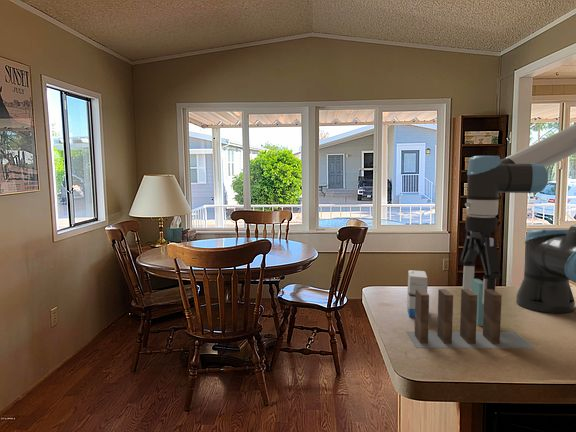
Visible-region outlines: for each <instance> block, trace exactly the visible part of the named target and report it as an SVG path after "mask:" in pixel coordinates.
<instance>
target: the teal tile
mask: <svg viewBox="0 0 576 432" xmlns="http://www.w3.org/2000/svg"><path fill="white" fill-rule="evenodd" d="M470 290H471V291H472V292H474V293H475V294H476V295H477V320H476V326H478V327H483V315H484V304H483V303H482V299H483V280H481V279H480V278H474V279H472V287H471V289H470Z"/></svg>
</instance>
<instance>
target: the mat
mask: <svg viewBox="0 0 576 432" xmlns="http://www.w3.org/2000/svg"><path fill="white" fill-rule="evenodd" d="M405 332H406V335H407V336H408V338H409V339H410V341H411V342H412V344H413V346H414V348H415V349H419V348H420V349H426V348H427V349H536V347H535V346H534V345H533V344H531V343H530V342H529V341H527V340H526V339H525V338H524V337H522V336H521V335H520V334H519V333H517V332H516V331H500V344H491V343H490V342H489V341H488V340H487V339H486V338H485V337H484V336H483V331H476V344H468V343H467V342H466V341H465V340H464V339H463V338H462V337H461V336H460V331H452V344H444V343H443V342H442V341H441V339H440V338H439V337H438V336H437V331H428V344H420V342H419V341H418V339H417V338H416V336H415V331H405Z"/></svg>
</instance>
